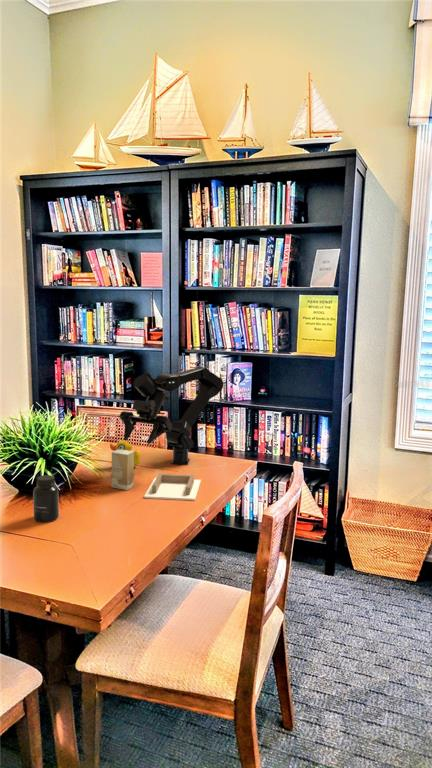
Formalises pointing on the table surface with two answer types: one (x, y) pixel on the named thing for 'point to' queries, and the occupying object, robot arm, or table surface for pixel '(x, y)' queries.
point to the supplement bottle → (46, 499)
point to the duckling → (127, 446)
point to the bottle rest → (173, 487)
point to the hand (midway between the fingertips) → (136, 441)
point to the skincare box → (122, 469)
